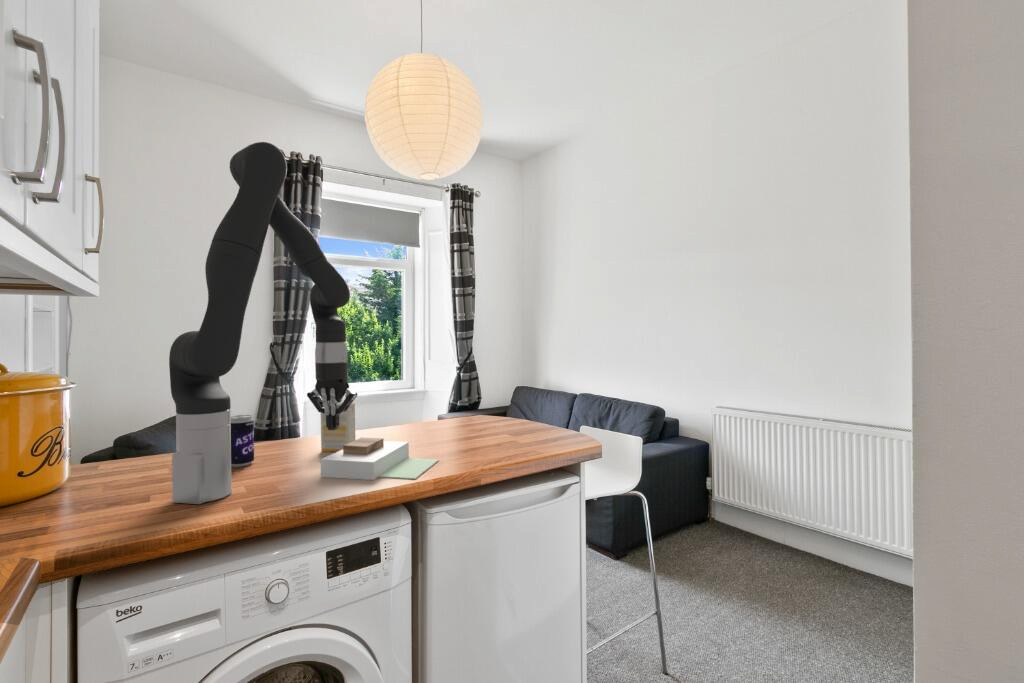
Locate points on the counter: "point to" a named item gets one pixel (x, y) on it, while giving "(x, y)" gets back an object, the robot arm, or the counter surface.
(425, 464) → the mat
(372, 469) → the white flat block
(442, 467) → the counter surface
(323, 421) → the supplement box
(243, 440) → the beverage can
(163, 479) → the counter surface
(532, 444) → the counter surface
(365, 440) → the brown wooden block
